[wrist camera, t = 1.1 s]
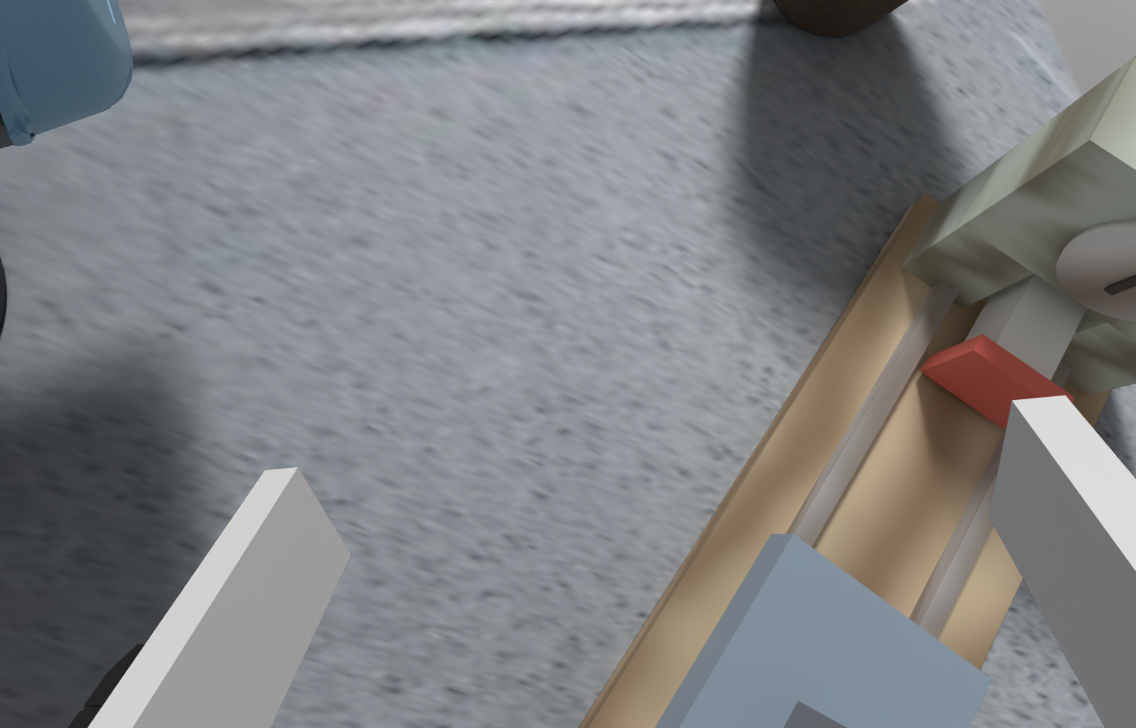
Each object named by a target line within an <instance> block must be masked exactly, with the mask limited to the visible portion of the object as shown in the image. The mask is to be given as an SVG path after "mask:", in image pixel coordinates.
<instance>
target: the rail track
mask: <svg viewBox="0 0 1136 728" xmlns="http://www.w3.org/2000/svg"><path fill="white" fill-rule="evenodd" d="M1032 274H1036V275H1037V276H1039V277H1040V278H1042V279H1043V280H1045V281H1046V282H1048V283H1049V284H1051V285H1052V286H1053V287H1055V288H1056V289H1058V290H1059V291H1061V292H1062V293H1064V294H1065V295H1067V296H1068V297H1070V298H1071V299H1073V300H1074V301H1076V302H1077V303H1079V304H1080V305H1082V306H1083V307H1085V308H1086V311H1085V313H1084V315H1083V317H1082V319H1081V321H1080V323H1079V325H1078V327H1077V329H1076V331H1075V333H1074V335H1073V337H1072V339H1071V341H1070V343H1069V345H1068V347H1067V349H1066V351H1065V353H1064V355H1063V357H1062V359H1061V361H1060V363H1059V365H1058V367H1057V369H1056V371H1055V373H1054V375H1053V377H1052V379H1051V381H1052V382H1053V383H1055V384H1056V385H1058V386H1059V387H1060V388H1062V389H1063V390H1065V391H1066V392H1068V393H1069V394H1071V395H1072V396H1074V397H1075V398H1074V400H1073V402H1072V404H1073V405H1074V406H1075V407H1076V409H1077V410H1078V411H1079V412H1080V413H1081V415H1082V416H1083V417H1084V418H1085V419H1086V421H1087V422H1088V423H1089V424H1090V425H1091V426H1092V428H1094V426H1095V424H1096V422H1097V419H1098V417H1099V415H1100V413H1101V411H1102V409H1103V407H1104V405H1105V402H1106V400H1107V398H1108V396H1109V394H1110V392H1111V390H1112V389H1115V388H1119V387H1123V386H1127V385H1131V384H1136V56H1135V57H1133V58H1132V59H1131V60H1129V61H1128V62H1127V63H1126V64H1124V65H1123V66H1122V67H1120V68H1119V69H1117V70H1116V71H1115V72H1114V73H1112V74H1111V75H1109V76H1108V77H1107V78H1105V79H1104V80H1103V81H1102V82H1100V83H1099V84H1098V85H1096V86H1095V87H1094V88H1092V89H1091V90H1090V91H1088V92H1087V93H1086V94H1084V95H1083V96H1082V97H1080V98H1079V99H1078V100H1076V101H1075V102H1074V103H1072V104H1071V105H1070V106H1068V107H1067V108H1066V109H1064V110H1063V111H1062V112H1060V113H1059V114H1058V115H1056V116H1055V117H1054V118H1053V119H1051V120H1050V121H1049V122H1047V123H1046V124H1045V125H1043V126H1042V127H1041V128H1039V129H1038V130H1037V131H1035V132H1034V133H1033V134H1031V135H1030V136H1029V137H1027V138H1026V139H1025V140H1023V141H1022V142H1021V143H1019V144H1018V145H1017V146H1015V147H1014V148H1013V149H1011V150H1010V151H1009V152H1007V153H1006V154H1005V155H1004V156H1002V157H1001V158H1000V159H998V160H997V161H996V162H994V163H993V164H992V165H990V166H989V167H988V168H986V169H985V170H984V171H982V172H981V173H980V174H978V175H977V176H976V177H974V178H973V179H972V180H970V181H969V182H968V183H966V184H965V185H964V186H962V187H961V188H960V189H959V190H957V191H956V192H955V193H953V194H952V195H951V196H949V197H948V198H947V199H945V200H944V201H943V202H941V203H939V202H938V201H936V200H935V199H933V198H932V197H930V196H929V195H927V194H926V193H925V194H924V195H923V196H922V197H920V198H919V199H918V200H917V201H915V202H914V203H913V204H912V205H910V207H909V208H908V210H907V211H906V213H905V214H904V216H903V218H902V219H901V221H900V222H899V224H898V225H897V227H896V229H895V230H894V232H893V233H892V235H891V236H890V238H889V240H888V241H887V243H886V244H885V246H884V247H883V249H882V251H881V252H880V254H879V255H878V257H877V259H876V260H875V262H874V263H873V265H872V266H871V268H870V270H869V271H868V273H867V274H866V276H865V277H864V279H863V281H862V282H861V284H860V285H859V287H858V288H857V290H856V292H855V293H854V295H853V296H852V298H851V299H850V301H849V303H848V304H847V306H846V307H845V309H844V310H843V312H842V314H841V315H840V317H839V318H838V320H837V321H836V323H835V325H834V326H833V328H832V329H831V331H830V333H829V334H828V336H827V337H826V339H825V340H824V342H823V344H822V345H821V347H820V348H819V350H818V351H817V353H816V355H815V356H814V358H813V359H812V361H811V362H810V364H809V366H808V367H807V369H806V370H805V372H804V373H803V375H802V377H801V378H800V380H799V381H798V383H797V384H796V386H795V388H794V389H793V391H792V392H791V394H790V395H789V397H788V399H787V400H786V402H785V403H784V405H783V406H782V408H781V410H780V411H779V413H778V414H777V416H776V418H775V419H774V421H773V422H772V424H771V425H770V427H769V429H768V430H767V432H766V433H765V435H764V436H763V438H762V440H761V441H760V443H759V444H758V446H757V447H756V449H755V451H754V452H753V454H752V455H751V457H750V458H749V460H748V462H747V463H746V465H745V466H744V468H743V469H742V471H741V473H740V474H739V476H738V477H737V479H736V480H735V482H734V484H733V485H732V487H731V488H730V490H729V492H728V493H727V495H726V496H725V498H724V499H723V501H722V503H721V504H720V506H719V507H718V509H717V510H716V512H715V514H714V515H713V517H712V518H711V520H710V521H709V523H708V525H707V526H706V528H705V529H704V531H703V532H702V534H701V536H700V537H699V539H698V540H697V542H696V543H695V545H694V547H693V548H692V550H691V551H690V553H689V554H688V556H687V558H686V559H685V561H684V562H683V564H682V565H681V567H680V569H679V570H678V572H677V573H676V575H675V577H674V578H673V580H672V581H671V583H670V584H669V586H668V588H667V589H666V591H665V592H664V594H663V595H662V597H661V599H660V600H659V602H658V603H657V605H656V606H655V608H654V610H653V611H652V613H651V614H650V616H649V617H648V619H647V621H646V622H645V624H644V625H643V627H642V628H641V630H640V632H639V633H638V635H637V636H636V638H635V639H634V641H633V643H632V644H631V646H630V647H629V649H628V650H627V652H626V654H625V655H624V657H623V658H622V660H621V662H620V663H619V665H618V666H617V668H616V669H615V671H614V673H613V674H612V676H611V677H610V679H609V680H608V682H607V684H606V685H605V687H604V688H603V690H602V691H601V693H600V695H599V696H598V698H597V699H596V701H595V702H594V704H593V706H592V707H591V709H590V710H589V712H588V713H587V715H586V717H585V718H584V720H583V721H582V723H581V724H580V726H579V728H655V726H656V725H657V723H658V721H659V720H660V718H661V716H662V715H663V713H664V711H665V710H666V708H667V706H668V705H669V703H670V701H671V700H672V698H673V696H674V695H675V693H676V691H677V690H678V688H679V686H680V685H681V683H682V681H683V680H684V678H685V676H686V675H687V673H688V671H689V670H690V668H691V666H692V665H693V663H694V661H695V660H696V658H697V656H698V655H699V653H700V651H701V650H702V648H703V646H704V645H705V643H706V642H707V640H708V638H709V637H710V635H711V633H712V632H713V630H714V628H715V627H716V625H717V623H718V622H719V620H720V618H721V617H722V615H723V613H724V612H725V610H726V608H727V607H728V605H729V603H730V602H731V600H732V598H733V597H734V595H735V593H736V592H737V590H738V588H739V587H740V585H741V583H742V582H743V580H744V578H745V577H746V575H747V573H748V572H749V570H750V568H751V567H752V565H753V563H754V562H755V560H756V558H757V557H758V555H759V553H760V552H761V550H762V548H763V547H764V545H765V543H766V542H767V540H768V538H769V537H770V535H771V534H794V535H796V536H797V537H798V538H800V539H801V540H802V541H804V542H805V543H807V544H808V545H809V546H811V547H812V548H813V549H815V550H816V551H817V552H819V553H820V554H822V555H823V556H824V557H826V558H827V559H828V560H830V561H831V562H833V563H834V564H835V565H837V566H838V567H839V568H841V569H842V570H843V571H845V572H846V573H848V574H849V575H850V576H852V577H853V578H854V579H856V580H857V581H858V582H860V583H861V584H863V585H864V586H865V587H867V588H868V589H869V590H871V591H872V592H873V593H875V594H876V595H878V596H879V597H880V598H882V599H883V600H884V601H886V602H887V603H888V604H890V605H891V606H893V607H894V608H895V609H897V610H898V611H899V612H901V613H902V614H904V615H905V616H906V617H908V618H909V619H910V620H912V621H913V622H914V623H916V624H917V625H919V626H920V627H921V628H923V629H924V630H925V631H927V632H928V633H929V634H931V635H932V636H934V637H935V638H936V639H938V640H939V641H940V642H942V643H943V644H944V645H946V646H947V647H949V648H950V649H951V650H953V651H954V652H955V653H957V654H958V655H959V656H961V657H962V658H964V659H965V660H966V661H968V662H969V663H970V664H972V665H973V666H974V667H976V668H977V669H979V670H980V668H981V666H982V664H983V662H984V660H985V658H986V656H987V654H988V651H989V649H990V647H991V645H992V643H993V641H994V639H995V637H996V634H997V632H998V630H999V628H1000V626H1001V624H1002V622H1003V620H1004V617H1005V615H1006V613H1007V611H1008V609H1009V607H1010V605H1011V602H1012V600H1013V598H1014V596H1015V594H1016V592H1017V590H1018V588H1019V585H1020V583H1021V581H1022V579H1023V578H1022V576H1021V574H1020V573H1019V571H1018V569H1017V567H1016V565H1015V563H1014V562H1013V560H1012V558H1011V556H1010V554H1009V552H1008V551H1007V549H1006V547H1005V545H1004V543H1003V542H1002V540H1001V538H1000V536H999V534H998V532H997V531H996V529H995V527H994V525H993V523H992V522H991V520H990V518H989V513H990V508H991V503H992V498H993V493H994V488H995V483H996V478H997V473H998V468H999V463H1000V458H1001V453H1002V448H1003V443H1004V438H1005V433H1006V428H1007V427H1005V428H1001V427H999V426H998V425H996V424H995V423H993V422H992V421H991V420H989V419H988V418H986V417H985V416H983V415H982V414H981V413H979V412H978V411H976V410H975V409H973V408H972V407H971V406H969V405H968V404H966V403H965V402H963V401H962V400H961V399H959V398H958V397H956V396H955V395H953V394H952V393H951V392H949V391H948V390H946V389H945V388H943V387H942V386H941V385H939V384H938V383H936V382H935V381H933V380H932V379H931V378H929V377H928V376H926V375H925V374H923V373H922V372H921V371H920V370H921V369H922V367H923V365H924V364H925V362H926V360H927V358H928V357H929V356H931V355H933V354H936V353H938V352H941V351H943V350H945V349H948V348H950V347H953V346H955V345H957V344H960V343H962V342H964V341H965V339H966V338H967V336H968V334H969V332H970V330H971V329H972V327H973V325H974V323H975V321H976V320H977V318H978V316H979V314H980V313H981V311H982V309H983V307H984V305H985V304H986V302H987V300H988V298H989V296H990V295H991V294H993V293H995V292H997V291H999V290H1001V289H1004V288H1006V287H1008V286H1010V285H1012V284H1014V283H1016V282H1018V281H1020V280H1022V279H1024V278H1026V277H1028V276H1030V275H1032Z"/></svg>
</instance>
